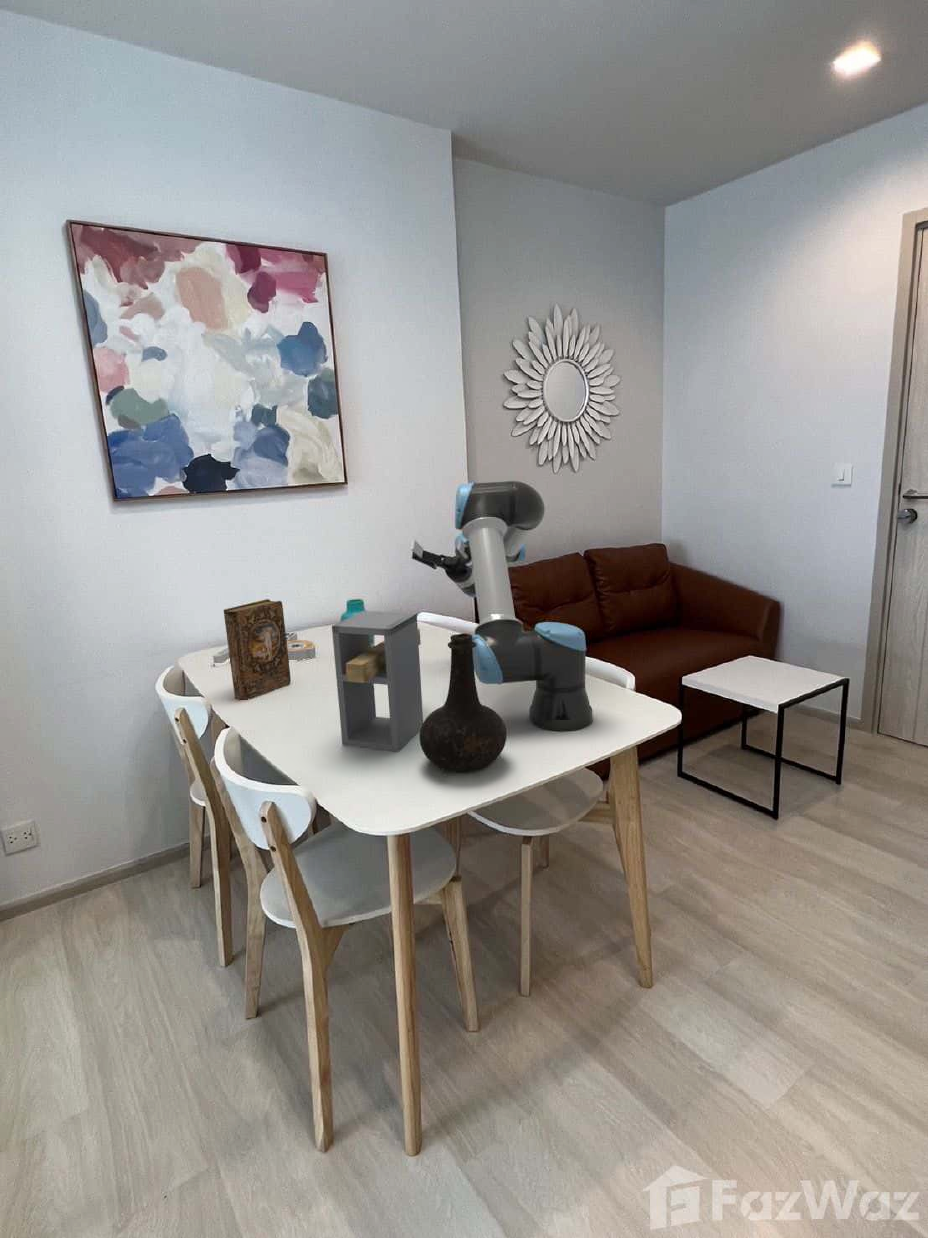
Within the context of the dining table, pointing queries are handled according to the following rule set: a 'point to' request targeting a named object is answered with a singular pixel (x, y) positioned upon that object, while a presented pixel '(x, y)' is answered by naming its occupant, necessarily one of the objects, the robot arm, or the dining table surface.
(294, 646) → the sign
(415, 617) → the shelf
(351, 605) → the vase
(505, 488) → the robot arm
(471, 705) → the glass bottle
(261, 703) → the dining table surface
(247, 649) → the book
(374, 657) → the wooden bar
